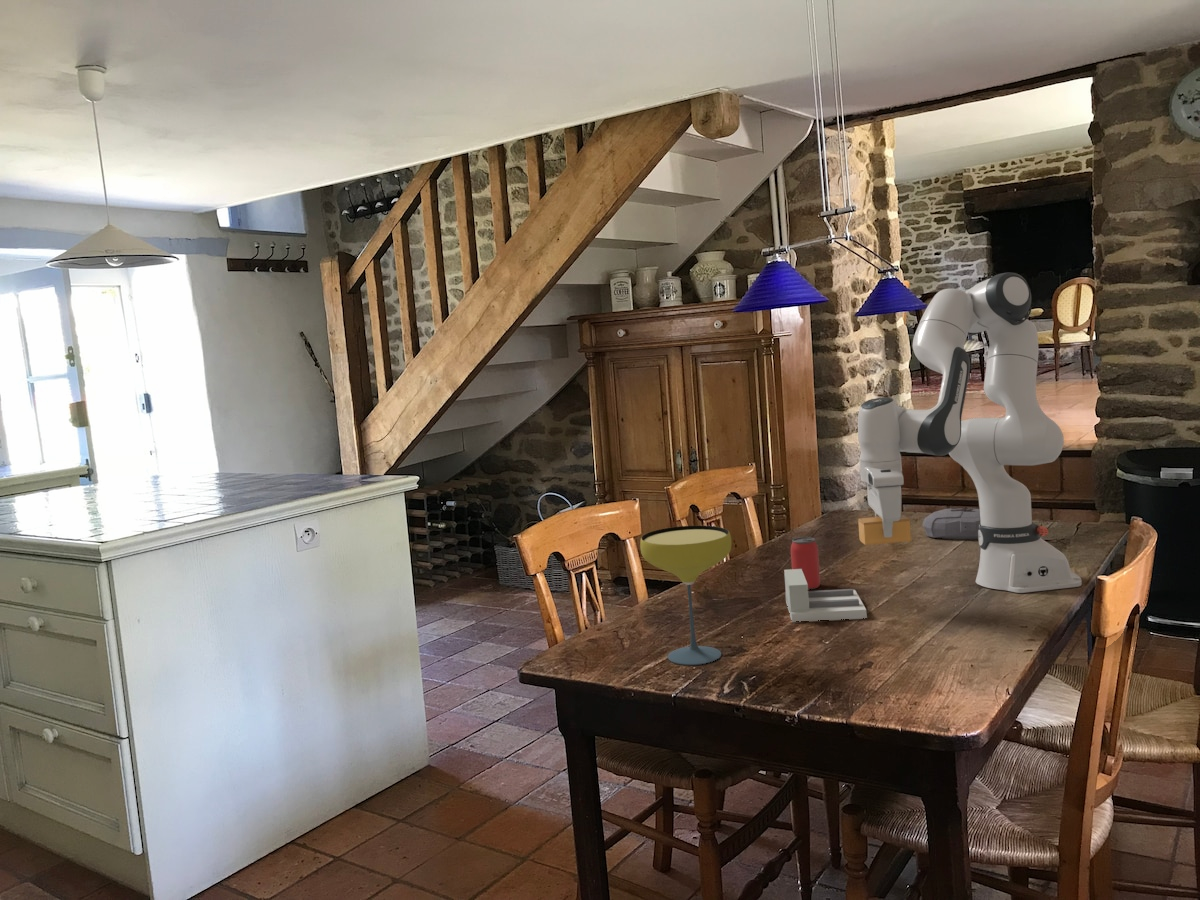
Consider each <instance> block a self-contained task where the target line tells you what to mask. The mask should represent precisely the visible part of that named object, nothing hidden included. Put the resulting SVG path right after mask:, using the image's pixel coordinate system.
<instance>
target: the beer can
mask: <svg viewBox="0 0 1200 900" xmlns="http://www.w3.org/2000/svg"><path fill="white" fill-rule="evenodd" d="M791 541H792V543H791V545H790V559H791V561H790V563H791V569H802V571H803V574H804V576H805V579H806V581H807V584H808V591H811V590H816V589H817V588H819V587H820V585H821V576H820V575H821V574H820V559H819V547H818V545H817V542H816V539H815V538H814V537H811V536H810V537H809V536H807V537H806V536H803V537H802V536H800V537H796V538H792V540H791ZM810 589H811V590H810Z"/></svg>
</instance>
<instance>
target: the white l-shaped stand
mask: <svg viewBox="0 0 1200 900" xmlns="http://www.w3.org/2000/svg"><path fill="white" fill-rule="evenodd" d="M783 571H784V573H783V574H784V586H785V603H786V606H788V607H787V610H788V612H789V613H790V614H789V613H788V614H789V617H790V621H791V620H792V621H791V623H797V622H796V621H799V622H798V623H802V622H801V621H809V622H821V621H820V620H829V621H846V620H845V619H849V620H864V619H865V618H867V619H868V615H867V608H866V607H865V605H864V603H863V601H862V600H861V598H860V596H859V594H858V593H857V591H856V589H854V588H843V589H841V588H840V589H824V590H808V584H807V581H806V579H805V576H804V574H803V571H802V569H792V568H790V569H783ZM863 618H864V619H863ZM841 619H842V620H841ZM843 619H844V620H843ZM818 620H819V621H818ZM865 620H866V619H865Z"/></svg>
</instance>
